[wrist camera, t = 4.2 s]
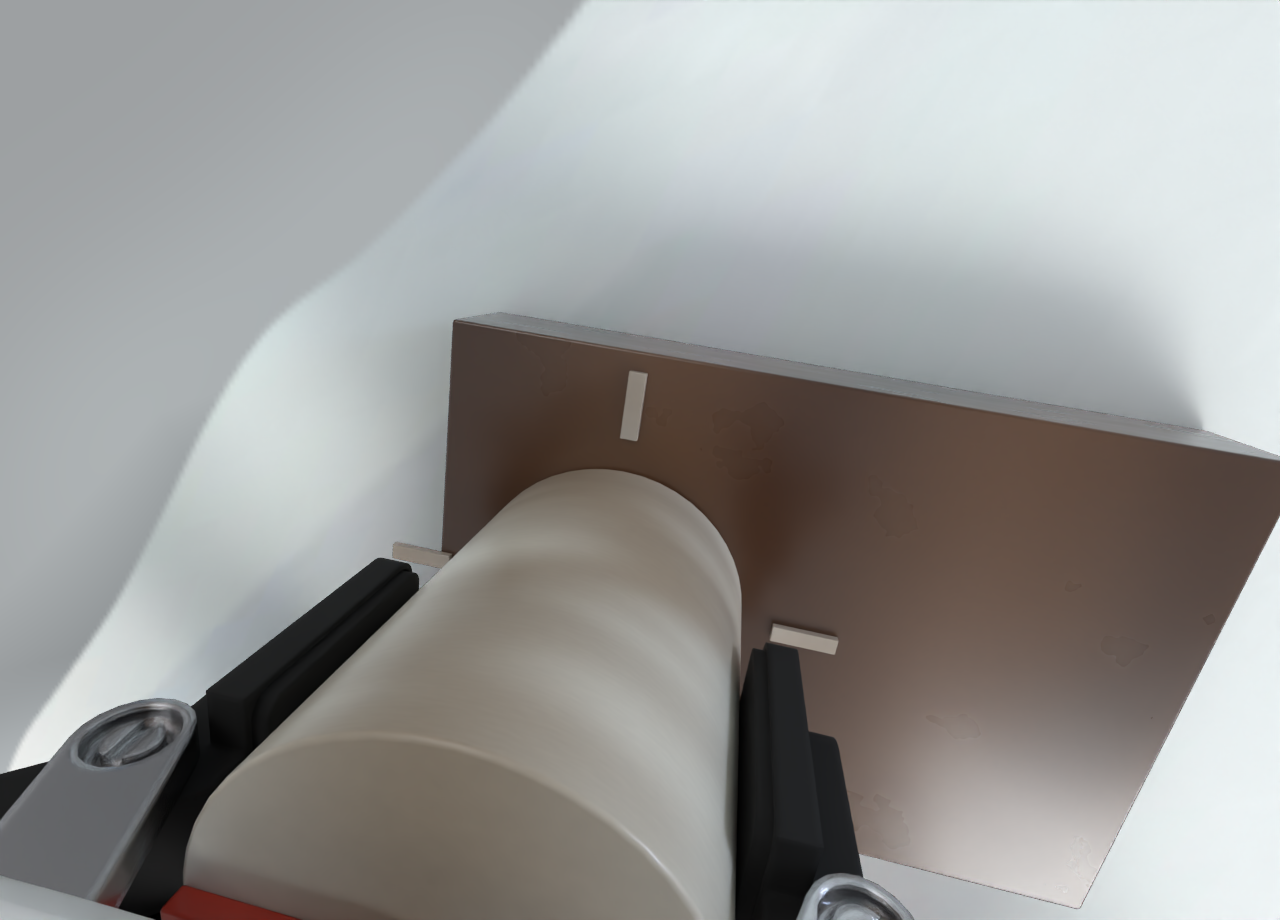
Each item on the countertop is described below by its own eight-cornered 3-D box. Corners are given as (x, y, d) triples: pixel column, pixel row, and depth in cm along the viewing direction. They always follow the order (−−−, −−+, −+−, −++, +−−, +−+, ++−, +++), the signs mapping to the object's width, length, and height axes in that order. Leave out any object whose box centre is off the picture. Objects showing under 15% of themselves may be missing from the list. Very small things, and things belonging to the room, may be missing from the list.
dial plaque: (1209, 431, 13) (1315, 468, 11) (1033, 820, 17) (1083, 918, 14) (455, 304, 15) (397, 310, 13) (436, 677, 19) (388, 740, 16)
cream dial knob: (767, 498, 13) (798, 864, 5) (714, 734, 15) (675, 1272, 7) (488, 444, 13) (121, 690, 6) (472, 676, 15) (180, 1104, 7)
